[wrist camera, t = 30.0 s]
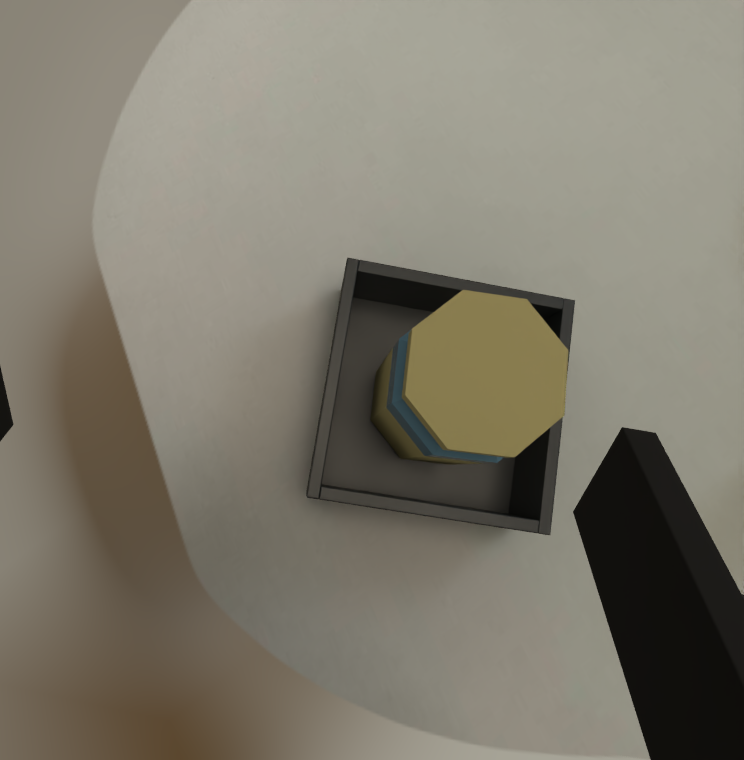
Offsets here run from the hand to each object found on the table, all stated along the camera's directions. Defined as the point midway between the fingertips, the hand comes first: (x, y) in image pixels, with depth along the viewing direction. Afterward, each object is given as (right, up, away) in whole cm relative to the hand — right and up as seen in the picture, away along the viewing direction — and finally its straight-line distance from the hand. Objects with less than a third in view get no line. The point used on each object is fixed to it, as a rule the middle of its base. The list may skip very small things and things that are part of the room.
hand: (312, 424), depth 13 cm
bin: (+5, -1, +32) cm, 33 cm away
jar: (+5, -1, +32) cm, 32 cm away
